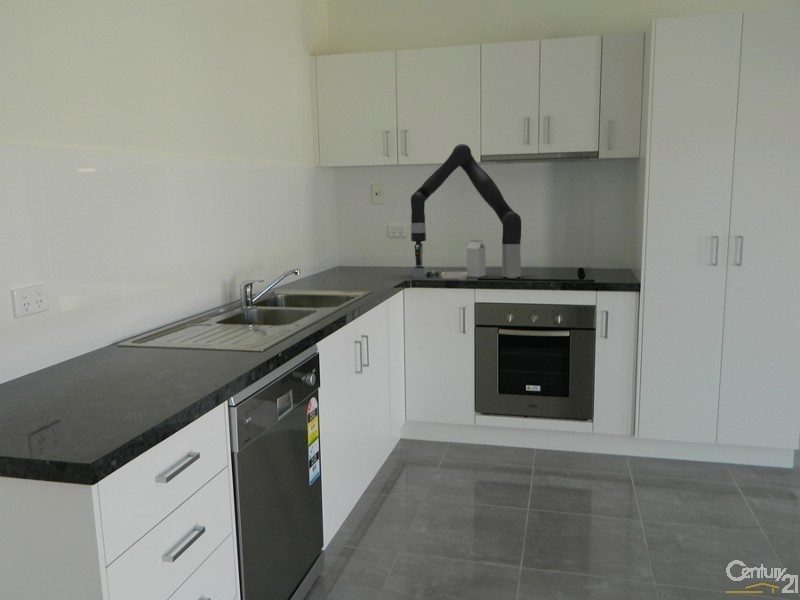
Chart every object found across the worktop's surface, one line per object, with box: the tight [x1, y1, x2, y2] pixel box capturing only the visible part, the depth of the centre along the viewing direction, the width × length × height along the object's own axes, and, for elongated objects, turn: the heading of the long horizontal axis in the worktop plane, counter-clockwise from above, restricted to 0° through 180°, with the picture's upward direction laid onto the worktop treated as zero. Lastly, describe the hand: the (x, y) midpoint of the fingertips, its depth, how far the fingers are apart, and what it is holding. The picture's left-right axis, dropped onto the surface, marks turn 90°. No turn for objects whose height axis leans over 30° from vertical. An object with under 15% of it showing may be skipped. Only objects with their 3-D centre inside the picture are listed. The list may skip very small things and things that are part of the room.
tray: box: [440, 271, 468, 282], centre depth 343 cm, size 13×12×3 cm
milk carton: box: [466, 239, 486, 278], centre depth 350 cm, size 7×7×19 cm
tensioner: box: [411, 266, 441, 279], centre depth 345 cm, size 14×10×6 cm
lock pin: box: [415, 252, 423, 268], centre depth 345 cm, size 3×3×12 cm
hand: (419, 264), depth 345 cm, fingers open, 6 cm apart
